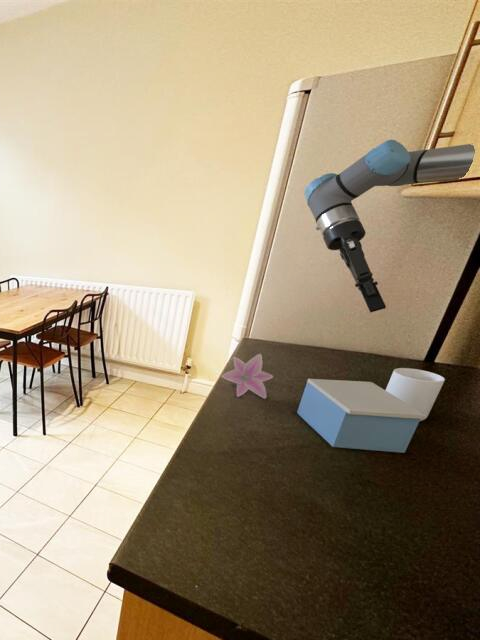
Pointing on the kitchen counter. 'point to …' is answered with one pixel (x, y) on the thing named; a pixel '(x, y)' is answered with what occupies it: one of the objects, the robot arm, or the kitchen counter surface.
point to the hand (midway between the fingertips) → (377, 309)
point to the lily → (248, 376)
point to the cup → (415, 388)
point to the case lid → (365, 399)
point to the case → (354, 425)
